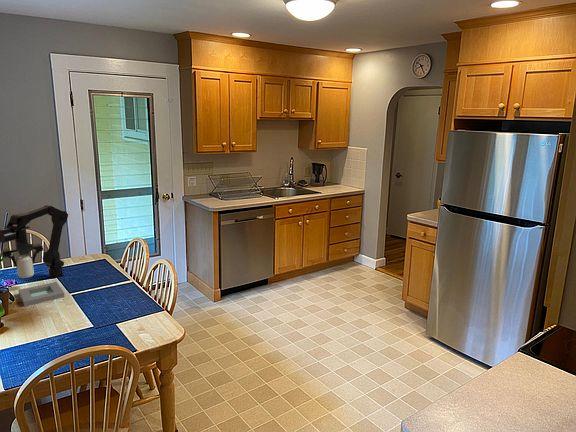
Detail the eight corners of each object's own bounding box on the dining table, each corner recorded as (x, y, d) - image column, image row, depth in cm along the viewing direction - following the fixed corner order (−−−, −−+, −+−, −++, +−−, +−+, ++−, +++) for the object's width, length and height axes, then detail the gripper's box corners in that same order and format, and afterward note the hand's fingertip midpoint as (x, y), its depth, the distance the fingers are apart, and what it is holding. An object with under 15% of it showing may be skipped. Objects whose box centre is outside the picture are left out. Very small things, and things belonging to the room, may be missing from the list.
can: (21, 280, 221) (18, 258, 218) (16, 276, 226) (12, 255, 223) (36, 275, 227) (33, 255, 224) (30, 272, 231) (28, 252, 229)
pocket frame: (56, 285, 231) (56, 281, 230) (64, 297, 217) (64, 292, 217) (19, 294, 219) (18, 289, 219) (24, 306, 206) (24, 301, 205)
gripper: (1, 244, 209) (6, 273, 213) (43, 238, 221) (47, 265, 225) (-1, 239, 217) (3, 267, 221) (39, 233, 229) (43, 260, 233)
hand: (24, 265), depth 225 cm, fingers closed on can, 7 cm apart
